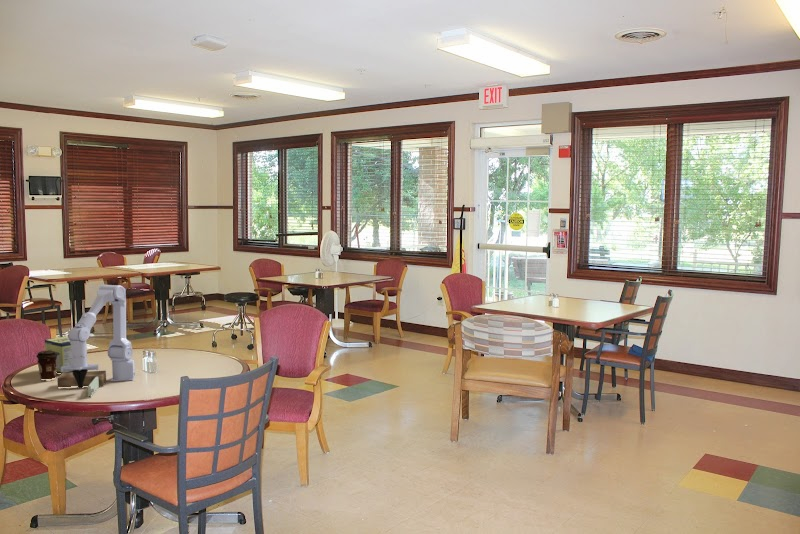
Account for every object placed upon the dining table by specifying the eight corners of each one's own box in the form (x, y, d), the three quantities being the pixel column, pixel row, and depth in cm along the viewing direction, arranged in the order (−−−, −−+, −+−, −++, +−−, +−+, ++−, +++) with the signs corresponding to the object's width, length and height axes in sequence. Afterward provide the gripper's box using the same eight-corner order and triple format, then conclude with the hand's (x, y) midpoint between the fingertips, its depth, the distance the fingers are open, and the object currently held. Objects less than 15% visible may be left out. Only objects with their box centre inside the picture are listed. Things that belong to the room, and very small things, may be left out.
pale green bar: (96, 386, 294) (96, 376, 294) (101, 386, 295) (101, 376, 294) (88, 397, 278) (88, 386, 278) (93, 396, 279) (93, 386, 278)
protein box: (66, 367, 330) (65, 335, 329) (84, 371, 322) (83, 339, 320) (45, 371, 322) (43, 339, 320) (63, 376, 313) (61, 343, 312)
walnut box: (106, 381, 304) (105, 370, 303) (102, 386, 295) (102, 375, 295) (62, 384, 299) (62, 373, 299) (57, 389, 291) (57, 378, 290)
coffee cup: (35, 382, 301) (33, 354, 300) (39, 378, 309) (38, 350, 308) (56, 381, 303) (55, 353, 302) (60, 376, 311) (59, 349, 310)
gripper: (58, 358, 278) (60, 391, 279) (96, 356, 282) (97, 388, 283) (62, 355, 285) (63, 386, 286) (99, 353, 289) (100, 384, 290)
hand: (80, 387), depth 285 cm, fingers closed
